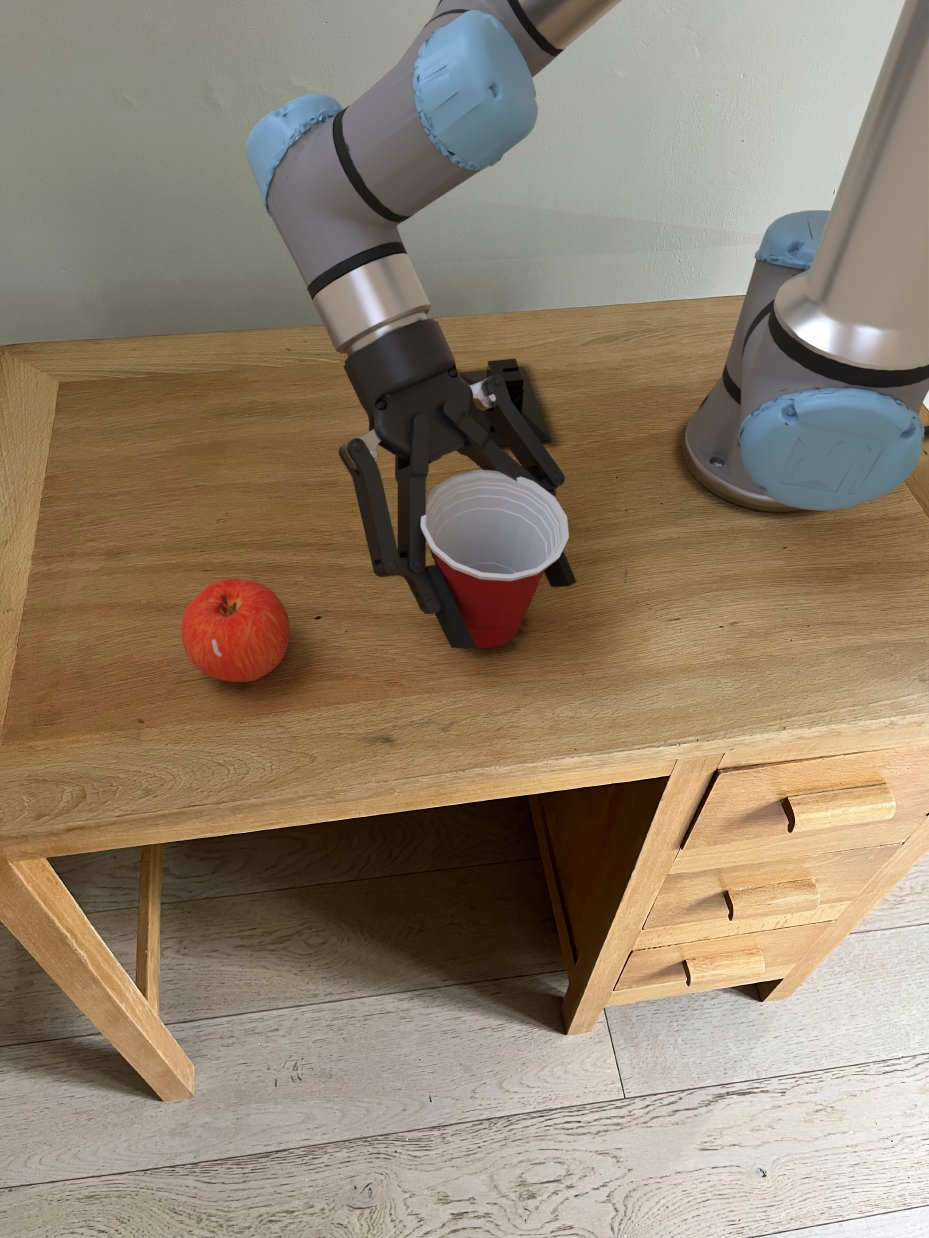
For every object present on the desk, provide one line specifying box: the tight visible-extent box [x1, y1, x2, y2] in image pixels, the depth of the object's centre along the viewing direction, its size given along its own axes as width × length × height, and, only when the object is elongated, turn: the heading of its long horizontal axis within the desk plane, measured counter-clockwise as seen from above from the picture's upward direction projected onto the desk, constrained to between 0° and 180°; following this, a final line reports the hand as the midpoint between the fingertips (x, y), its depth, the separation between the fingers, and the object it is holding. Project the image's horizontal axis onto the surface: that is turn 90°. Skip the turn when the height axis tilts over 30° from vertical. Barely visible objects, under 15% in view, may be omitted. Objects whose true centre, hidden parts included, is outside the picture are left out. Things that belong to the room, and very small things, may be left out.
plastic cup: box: [421, 469, 570, 649], centre depth 66 cm, size 11×11×12 cm
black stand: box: [458, 358, 551, 449], centre depth 87 cm, size 12×7×5 cm, turn 11°
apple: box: [180, 578, 291, 683], centre depth 65 cm, size 8×8×8 cm
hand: (515, 614), depth 66 cm, fingers closed on plastic cup, 9 cm apart
